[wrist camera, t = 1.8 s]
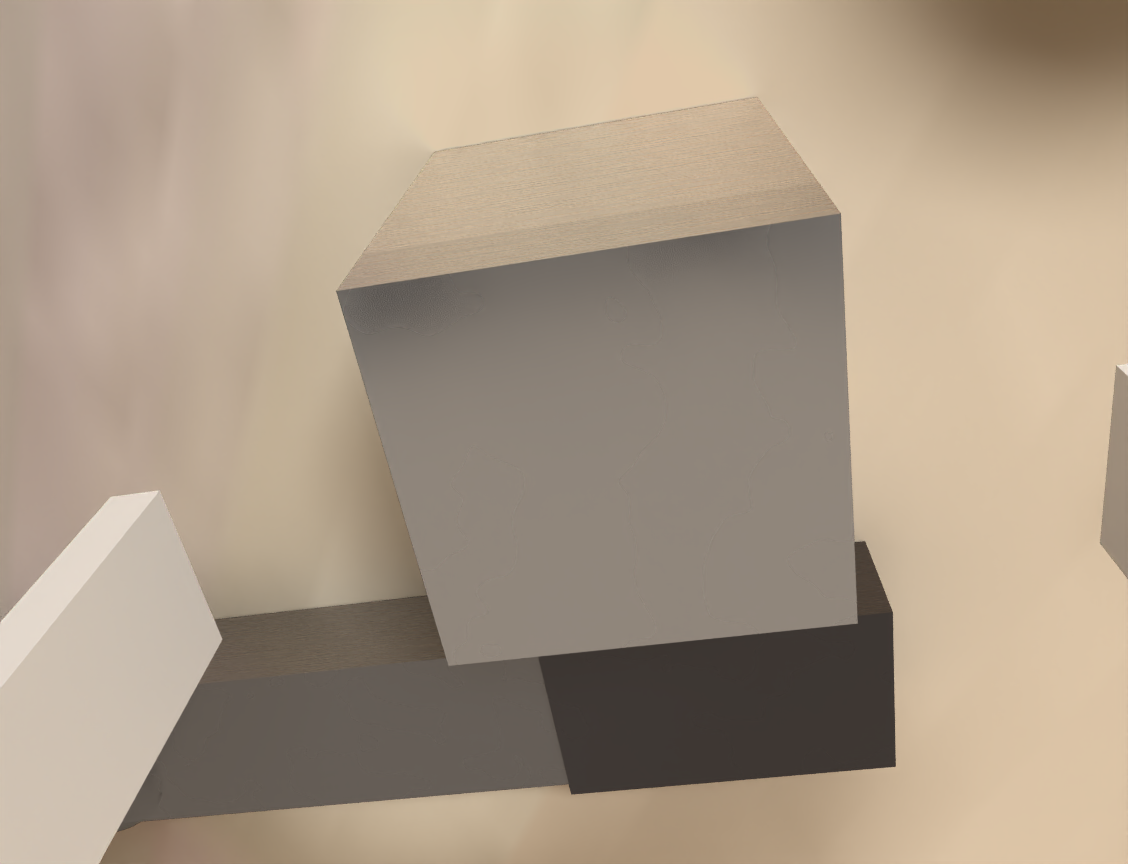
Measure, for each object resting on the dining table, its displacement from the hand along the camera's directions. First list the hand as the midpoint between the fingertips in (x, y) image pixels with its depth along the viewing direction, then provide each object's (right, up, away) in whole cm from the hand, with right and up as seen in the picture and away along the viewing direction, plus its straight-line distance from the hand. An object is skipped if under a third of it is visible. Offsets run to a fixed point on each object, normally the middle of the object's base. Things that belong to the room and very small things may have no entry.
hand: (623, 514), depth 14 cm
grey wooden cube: (0, +4, +7) cm, 9 cm away
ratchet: (-5, -5, +13) cm, 15 cm away
